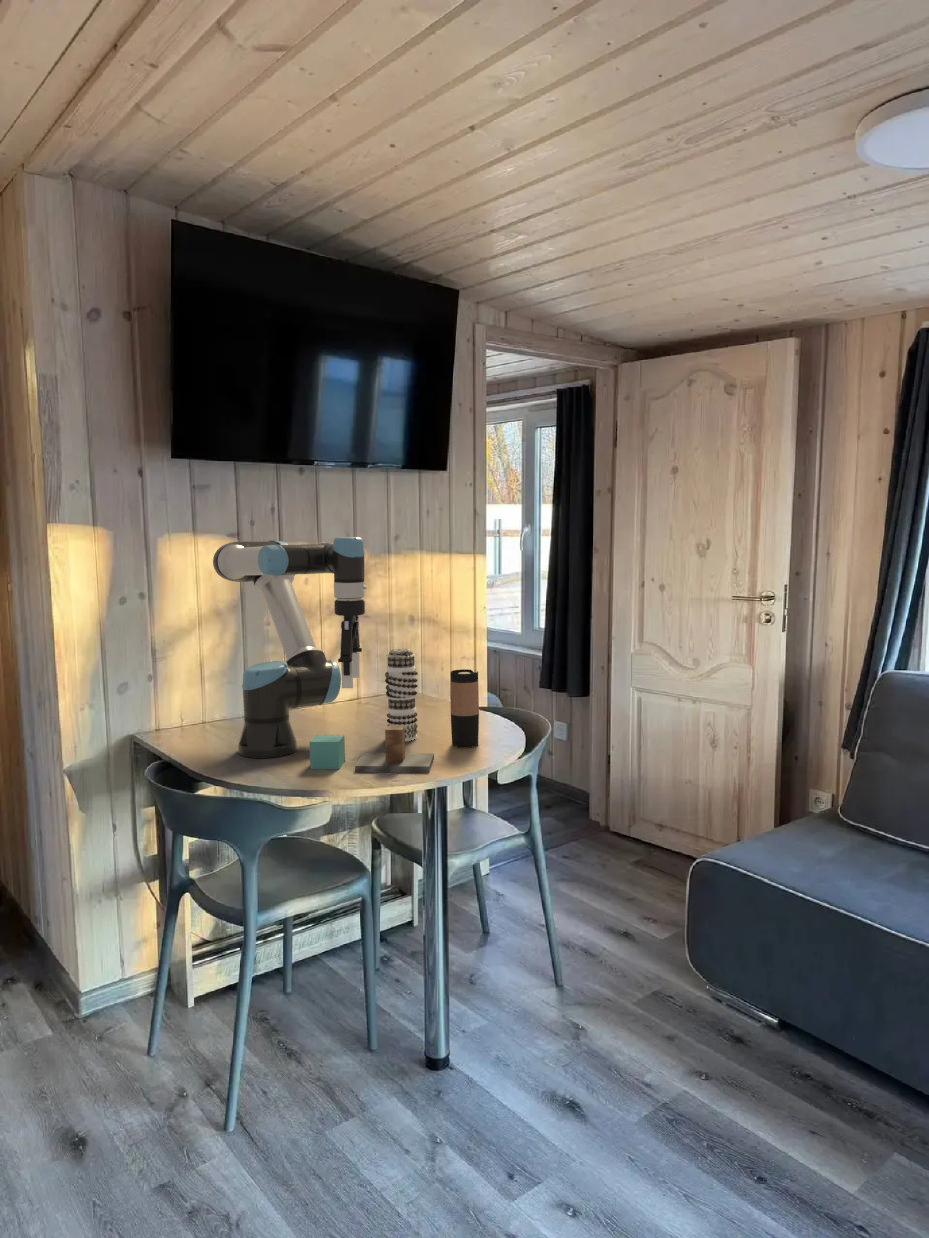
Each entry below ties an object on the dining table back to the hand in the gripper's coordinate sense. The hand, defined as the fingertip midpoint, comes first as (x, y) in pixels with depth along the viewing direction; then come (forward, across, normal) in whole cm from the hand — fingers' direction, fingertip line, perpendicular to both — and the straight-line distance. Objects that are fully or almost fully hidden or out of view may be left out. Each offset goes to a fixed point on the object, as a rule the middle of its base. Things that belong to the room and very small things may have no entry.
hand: (350, 682), depth 217 cm
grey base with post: (+20, -6, -12) cm, 24 cm away
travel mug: (+20, +13, -29) cm, 38 cm away
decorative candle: (+20, +22, -12) cm, 32 cm away
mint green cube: (+20, -5, +5) cm, 21 cm away
